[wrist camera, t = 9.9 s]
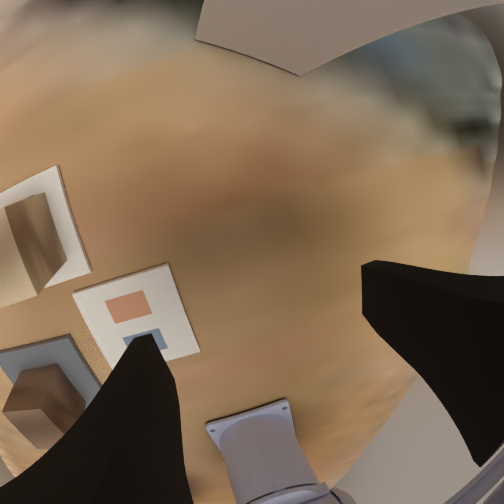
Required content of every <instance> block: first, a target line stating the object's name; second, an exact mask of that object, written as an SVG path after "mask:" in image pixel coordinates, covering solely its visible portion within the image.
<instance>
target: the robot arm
mask: <svg viewBox="0 0 504 504" xmlns="http://www.w3.org/2000/svg"><path fill="white" fill-rule="evenodd" d="M361 275H362V314H363V315H364V317H365V318H366V319H367V321H368V322H369V324H370V325H371V326H372V327H373V329H374V330H375V331H376V332H377V334H378V335H379V336H380V337H381V338H382V339H384V340H385V341H386V342H387V343H388V344H389V345H390V346H391V347H392V348H393V349H394V350H395V351H396V352H397V353H398V354H399V355H400V356H401V357H402V358H403V359H404V360H405V361H406V362H407V363H408V364H410V365H411V366H412V367H413V368H414V369H415V370H416V371H417V372H418V373H419V375H420V376H421V377H422V378H423V379H424V380H425V382H426V383H427V384H428V385H429V387H430V388H431V389H432V390H433V392H434V393H435V394H436V395H437V397H438V398H439V400H440V401H441V403H442V404H443V406H444V407H445V409H446V410H447V411H448V413H449V415H450V416H451V418H452V419H453V421H454V423H455V425H456V426H457V428H458V429H459V431H460V433H461V435H462V437H463V439H464V441H465V443H466V445H467V447H468V449H469V451H470V453H471V456H472V458H473V461H474V462H475V463H476V464H477V465H478V466H479V467H481V466H482V465H483V464H484V463H486V462H487V461H488V459H490V457H491V456H492V455H493V454H494V453H495V452H496V451H497V450H498V449H499V448H500V447H501V446H502V445H503V443H504V276H478V275H466V274H458V273H451V272H444V271H438V270H432V269H427V268H422V267H416V266H411V265H406V264H401V263H395V262H388V261H379V260H374V261H372V262H369V263H366V264H364V265H361ZM205 427H206V430H207V432H208V433H209V435H210V436H211V438H212V440H213V441H214V443H215V444H216V446H217V447H218V449H219V450H220V452H221V453H222V455H223V458H224V462H225V466H226V469H227V473H228V476H229V480H230V484H231V487H232V490H233V494H234V497H235V501H236V504H356V502H355V501H354V499H353V498H352V497H351V496H350V495H349V494H348V493H347V492H345V491H343V490H340V489H338V488H332V489H330V490H329V488H328V486H327V484H326V483H325V482H322V483H319V481H318V479H317V478H316V476H315V474H314V472H313V470H312V468H311V466H310V464H309V462H308V460H307V458H306V456H305V454H304V452H303V450H302V448H301V446H300V444H299V442H298V440H297V438H296V434H295V430H294V425H293V420H292V415H291V411H290V406H289V402H288V401H287V400H286V399H283V400H280V401H277V402H274V403H272V404H269V405H266V406H263V407H260V408H257V409H254V410H251V411H247V412H244V413H241V414H238V415H234V416H231V417H227V418H224V419H220V420H216V421H213V422H209V423H207V424H206V425H205ZM503 476H504V448H503V449H502V451H501V452H500V453H499V454H498V455H497V456H496V457H495V458H494V459H493V460H492V461H491V462H490V463H489V464H488V465H487V466H486V467H485V468H484V469H483V470H482V471H481V472H480V473H479V474H478V475H477V476H476V477H475V478H474V479H472V480H471V481H470V482H469V483H468V484H467V485H466V486H465V487H463V488H462V489H461V490H460V491H459V492H457V493H456V494H455V495H454V496H453V497H451V498H450V499H449V500H448V501H446V502H445V503H444V504H476V503H477V502H478V501H479V500H480V499H481V498H482V497H483V496H484V495H485V494H486V493H487V492H488V491H489V490H490V489H491V488H492V487H493V486H494V485H495V484H496V483H497V482H498V481H499V480H500V479H501V478H502V477H503ZM0 504H194V503H193V500H192V496H191V492H190V488H189V484H188V480H187V476H186V471H185V465H184V456H183V445H182V433H181V420H180V406H179V400H178V394H177V389H176V384H175V379H174V377H173V375H172V373H171V371H170V369H169V367H168V366H167V364H166V362H165V360H164V358H163V356H162V354H161V352H160V350H159V348H158V346H157V343H156V341H155V339H154V337H153V335H152V333H149V334H146V335H142V336H138V337H134V338H133V340H132V341H131V342H130V344H129V345H128V347H127V348H126V350H125V351H124V353H123V355H122V356H121V358H120V359H119V361H118V362H117V364H116V366H115V367H114V369H113V370H112V372H111V373H110V375H109V377H108V378H107V380H106V381H105V383H104V384H103V385H102V387H101V388H100V390H99V391H98V393H97V394H96V395H95V397H94V398H93V400H92V401H91V403H90V404H89V405H88V407H87V408H86V409H85V411H84V412H83V413H82V415H81V416H80V417H79V418H78V419H77V421H76V422H75V423H74V424H73V425H72V427H71V428H70V429H69V430H68V431H67V432H66V433H65V434H64V435H63V436H62V437H61V438H60V439H59V440H58V441H57V442H56V443H55V444H54V445H53V446H52V447H51V448H50V449H49V450H48V451H47V452H46V453H45V454H44V455H43V456H42V457H41V458H40V459H39V460H37V461H36V462H35V463H34V464H33V465H31V466H30V467H29V468H28V469H26V470H25V471H24V472H23V473H21V474H20V475H18V476H17V477H16V478H14V479H13V480H11V481H10V482H8V483H6V484H5V485H3V486H2V487H0ZM483 504H504V481H503V482H502V483H501V484H500V485H499V486H498V487H497V488H496V489H495V490H494V491H493V492H492V493H491V494H490V495H489V496H488V498H487V499H486V500H485V501H484V502H483Z"/></svg>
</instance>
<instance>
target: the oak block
mask: <svg viewBox="0 0 504 504" xmlns="http://www.w3.org/2000/svg"><path fill="white" fill-rule="evenodd" d="M66 261H67V258H66V255H65V252H64V250H63V247H62V244H61V242H60V239H59V236H58V233H57V230H56V227H55V224H54V221H53V218H52V215H51V212H50V208H49V205H48V202H47V198H46V195H45V192H44V193H41V194H38V195H35V196H32V197H29V198H26V199H24V200H21V201H18V202H16V203H13V204H10V205H8V206H5V207H3V208H1V209H0V308H2V307H5V306H8V305H11V304H14V303H16V302H19V301H22V300H25V299H28V298H31V297H34V296H37V295H38V294H39V293H40V292H41V290H42V289H43V288H44V287H45V286H46V284H47V283H48V282H49V281H50V280H51V278H52V277H53V276H54V275H55V274H56V273H57V271H58V270H59V269H60V268H61V267H62V266H63V265H64V263H65V262H66Z"/></svg>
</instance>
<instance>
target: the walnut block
mask: <svg viewBox="0 0 504 504" xmlns="http://www.w3.org/2000/svg"><path fill="white" fill-rule="evenodd" d="M85 406H86V401H85V400H84V399H83V397H82V396H81V395H80V394H79V392H78V391H77V390H76V388H75V387H74V386H73V384H72V383H71V382H70V380H69V379H68V378H67V376H66V375H65V374H64V372H63V371H62V369H61V368H60V366H59V365H58V363H55V364H51V365H47V366H42V367H38V368H33V369H28V370H24V371H21V372H20V374H19V376H18V378H17V380H16V382H15V384H14V386H13V388H12V390H11V392H10V394H9V397H8V399H7V401H6V403H5V406H4V408H3V410H2V413H3V414H4V415H5V416H6V417H7V418H8V420H9V421H10V422H11V423H12V424H13V425H14V426H15V427H16V428H17V429H18V430H19V431H20V432H21V433H22V434H23V435H24V436H25V437H26V438H27V439H28V440H29V441H30V442H31V443H32V444H33V445H34V446H35V447H36V448H37V449H50V448H51V447H52V446H53V445H54V444H55V443H56V442H57V441H58V440H59V439H60V438H61V437H62V436H63V435H64V434H65V433H66V432H67V431H68V430H69V429H70V428H71V427H72V425H73V424H74V423H75V422H76V421H77V419H78V418H79V417H80V416H81V415H82V413H83V412H84V411H85Z"/></svg>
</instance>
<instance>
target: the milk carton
mask: <svg viewBox="0 0 504 504" xmlns="http://www.w3.org/2000/svg"><path fill="white" fill-rule="evenodd" d="M499 3H504V0H204V3H203V7H202V11H201V15H200V19H199V23H198V27H197V31H196V36H195V39H196V40H199V41H202V42H206V43H210V44H213V45H217V46H220V47H223V48H227V49H230V50H233V51H236V52H239V53H242V54H245V55H248V56H251V57H254V58H256V59H259V60H262V61H264V62H267V63H270V64H272V65H275V66H277V67H280V68H282V69H285V70H287V71H289V72H292V73H294V74H296V75H299V76H302V75H304V74H306V73H307V72H309V71H311V70H313V69H315V68H317V67H319V66H321V65H323V64H325V63H327V62H329V61H331V60H333V59H335V58H337V57H339V56H341V55H343V54H345V53H347V52H350V51H352V50H354V49H356V48H358V47H361V46H363V45H365V44H368V43H370V42H372V41H375V40H377V39H380V38H382V37H385V36H387V35H390V34H392V33H395V32H397V31H400V30H403V29H406V28H408V27H411V26H414V25H417V24H420V23H423V22H426V21H429V20H432V19H436V18H439V17H443V16H446V15H450V14H453V13H457V12H461V11H465V10H469V9H474V8H478V7H483V6H488V5H493V4H499Z"/></svg>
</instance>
